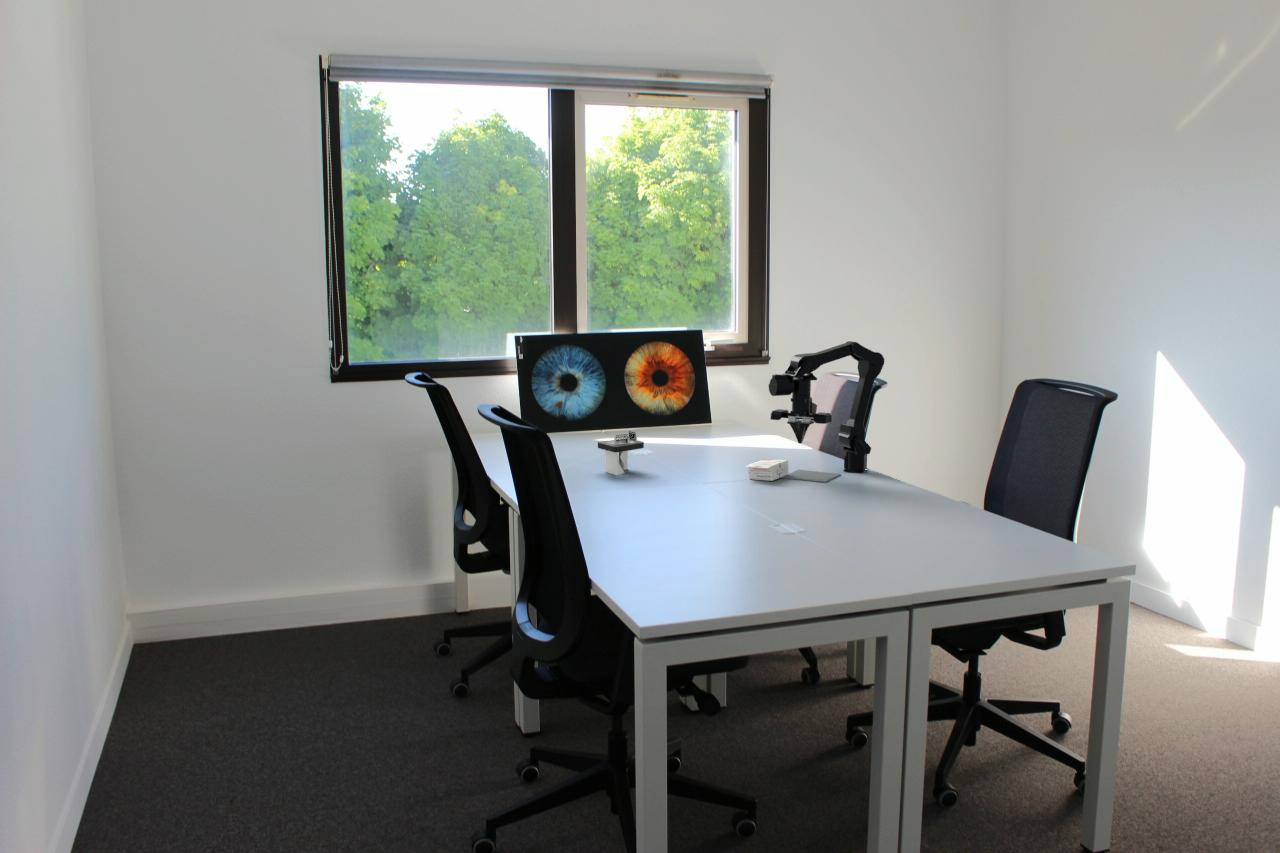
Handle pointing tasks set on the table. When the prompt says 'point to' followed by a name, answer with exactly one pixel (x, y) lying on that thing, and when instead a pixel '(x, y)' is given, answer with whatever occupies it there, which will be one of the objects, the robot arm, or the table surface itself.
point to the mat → (811, 476)
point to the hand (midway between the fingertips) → (800, 443)
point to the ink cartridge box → (768, 469)
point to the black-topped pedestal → (619, 452)
